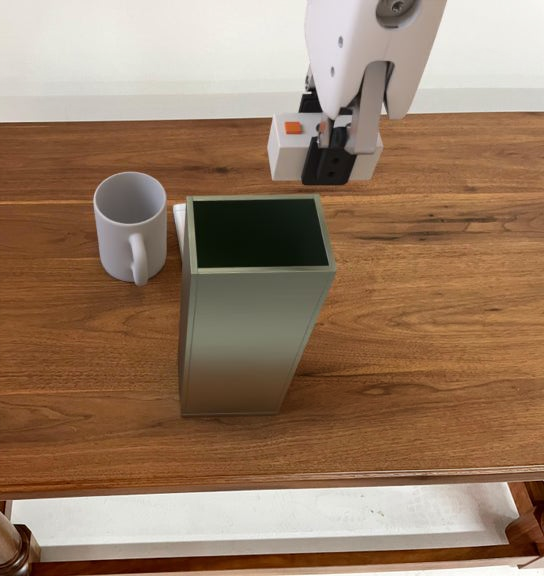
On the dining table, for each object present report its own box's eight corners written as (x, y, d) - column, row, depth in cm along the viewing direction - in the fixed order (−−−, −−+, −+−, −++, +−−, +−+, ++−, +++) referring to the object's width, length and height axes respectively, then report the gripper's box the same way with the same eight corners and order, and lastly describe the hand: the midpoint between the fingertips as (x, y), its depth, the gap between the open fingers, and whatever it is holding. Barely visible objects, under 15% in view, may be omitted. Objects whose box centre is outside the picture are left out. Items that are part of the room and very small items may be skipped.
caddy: (268, 354, 69) (319, 193, 47) (276, 415, 65) (337, 270, 43) (177, 355, 69) (186, 195, 47) (180, 417, 65) (191, 273, 43)
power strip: (370, 180, 43) (385, 143, 40) (272, 181, 43) (280, 144, 40) (360, 146, 45) (374, 109, 42) (266, 147, 45) (274, 109, 42)
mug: (96, 235, 79) (88, 175, 70) (160, 226, 80) (160, 166, 71) (108, 311, 73) (101, 256, 64) (177, 300, 73) (180, 244, 64)
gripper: (546, -36, 24) (396, 251, 39) (435, -193, 33) (349, 88, 48) (356, -35, 24) (280, 251, 39) (299, -192, 33) (255, 88, 48)
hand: (319, 159), depth 43 cm, fingers closed on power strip, 3 cm apart
